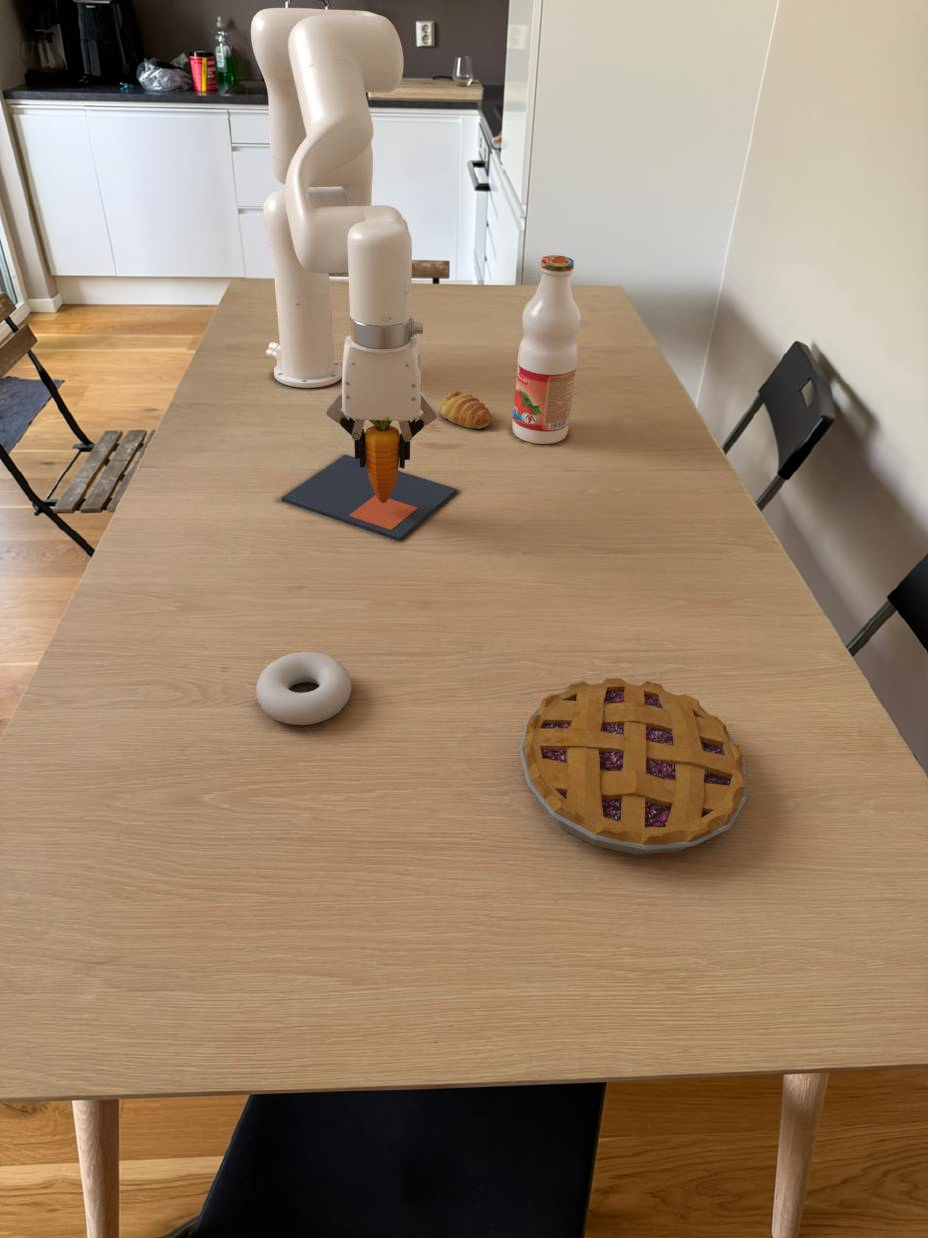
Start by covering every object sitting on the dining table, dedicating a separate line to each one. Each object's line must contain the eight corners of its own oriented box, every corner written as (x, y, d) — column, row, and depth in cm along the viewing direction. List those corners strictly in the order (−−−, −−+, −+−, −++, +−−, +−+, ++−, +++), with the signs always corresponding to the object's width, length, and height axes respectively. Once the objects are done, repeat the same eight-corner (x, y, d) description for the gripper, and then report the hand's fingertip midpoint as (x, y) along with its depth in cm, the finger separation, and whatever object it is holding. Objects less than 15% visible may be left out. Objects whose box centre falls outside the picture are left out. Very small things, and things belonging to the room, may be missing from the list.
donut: (237, 708, 94) (311, 745, 90) (233, 683, 92) (308, 720, 88) (300, 658, 101) (371, 690, 96) (297, 634, 99) (369, 666, 94)
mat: (281, 500, 128) (281, 496, 127) (345, 457, 139) (345, 453, 139) (399, 540, 121) (399, 537, 120) (456, 491, 132) (457, 488, 132)
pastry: (501, 423, 151) (502, 402, 149) (473, 435, 147) (474, 414, 145) (462, 405, 156) (463, 385, 154) (434, 416, 152) (434, 395, 150)
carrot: (406, 498, 126) (406, 398, 117) (392, 514, 122) (392, 413, 113) (374, 491, 127) (372, 391, 118) (359, 507, 123) (356, 406, 114)
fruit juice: (569, 446, 145) (592, 270, 128) (512, 444, 145) (527, 267, 128) (565, 421, 153) (586, 251, 136) (510, 419, 153) (524, 248, 136)
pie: (516, 863, 79) (521, 826, 76) (517, 697, 97) (521, 662, 94) (762, 879, 79) (776, 843, 76) (718, 710, 96) (728, 675, 93)
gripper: (449, 322, 113) (444, 452, 124) (315, 317, 112) (322, 448, 123) (449, 344, 107) (445, 478, 118) (308, 339, 106) (317, 475, 118)
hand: (382, 462), depth 121 cm, fingers closed on carrot, 4 cm apart
